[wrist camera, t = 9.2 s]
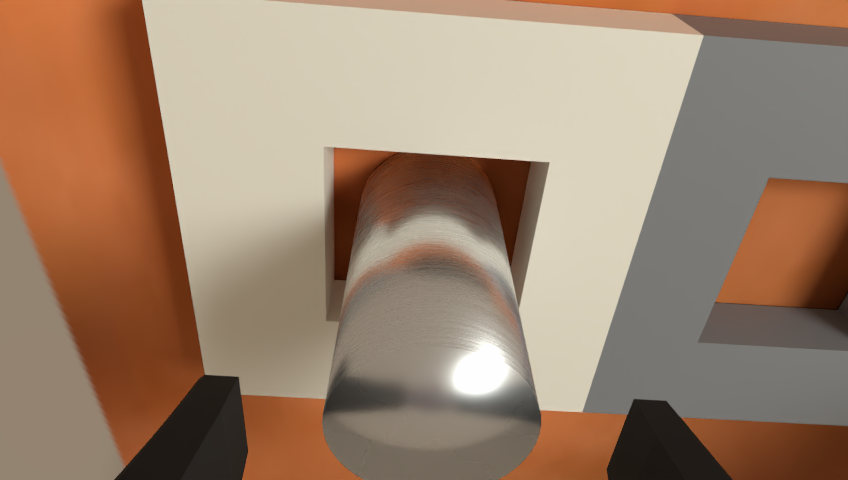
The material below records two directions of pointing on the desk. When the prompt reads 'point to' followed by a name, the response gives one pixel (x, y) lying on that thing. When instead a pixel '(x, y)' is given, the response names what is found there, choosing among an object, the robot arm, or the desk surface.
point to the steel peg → (430, 332)
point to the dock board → (545, 191)
